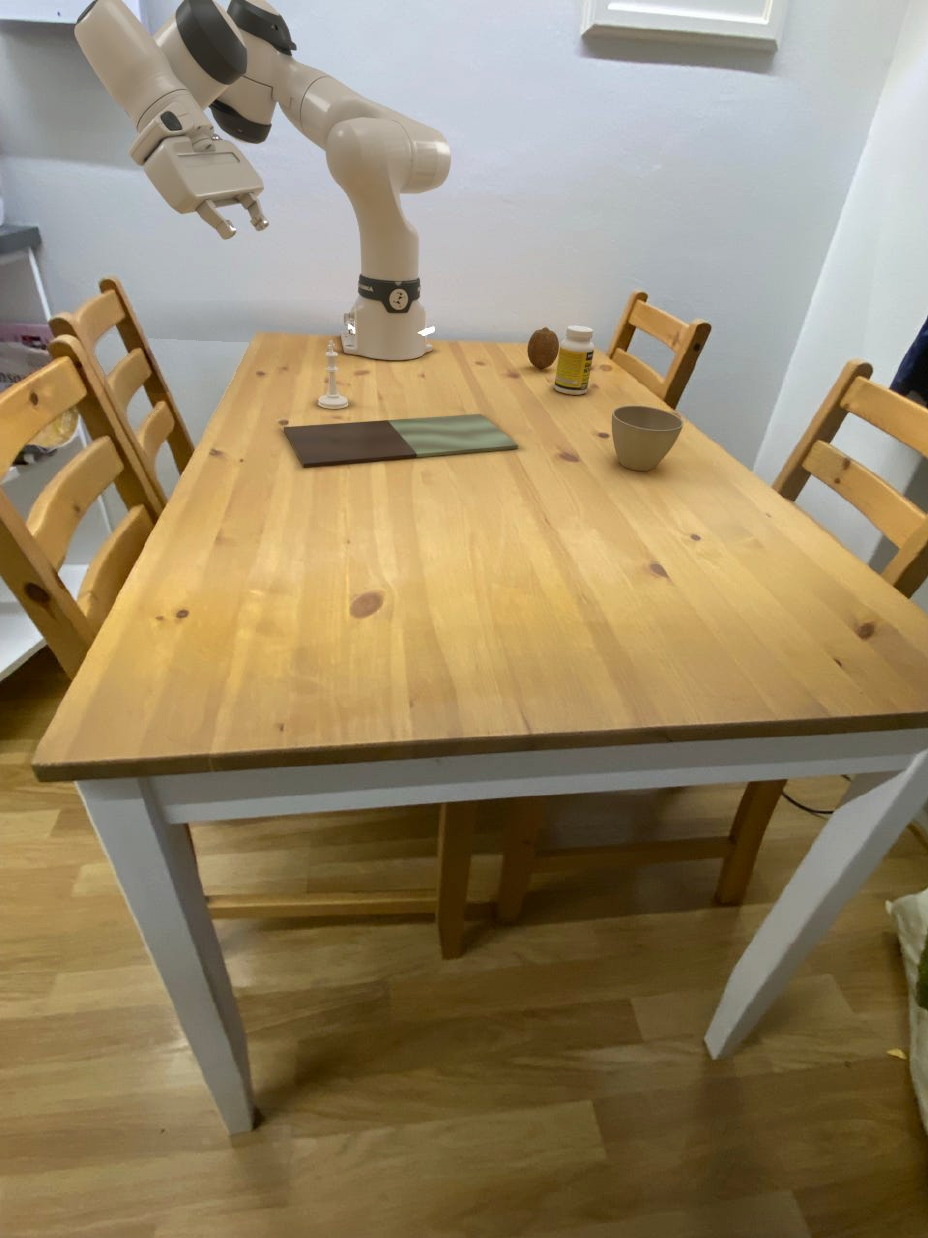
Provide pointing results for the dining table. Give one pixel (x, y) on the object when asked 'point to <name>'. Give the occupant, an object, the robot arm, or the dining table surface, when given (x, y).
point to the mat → (395, 439)
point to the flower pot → (643, 435)
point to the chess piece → (332, 383)
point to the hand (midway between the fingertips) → (248, 232)
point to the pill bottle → (574, 361)
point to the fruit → (543, 348)
